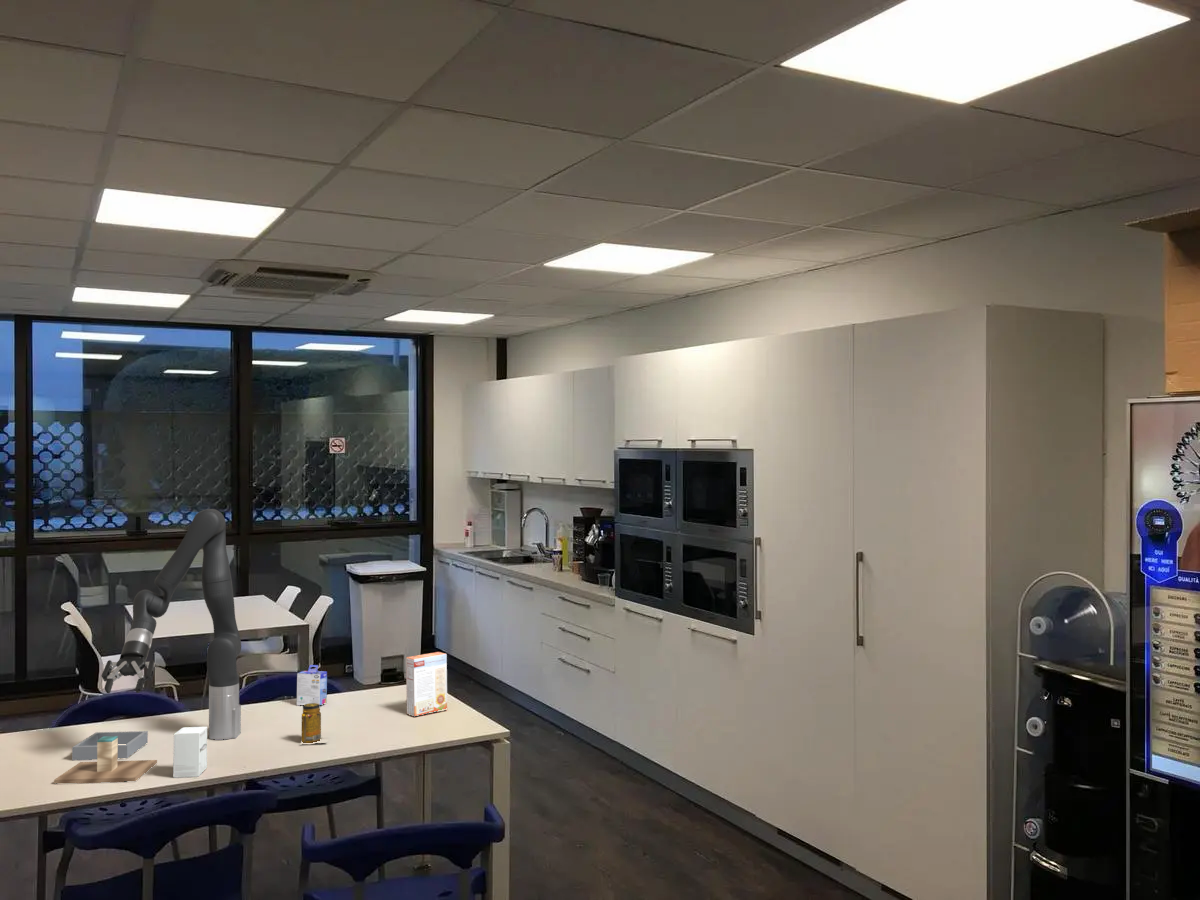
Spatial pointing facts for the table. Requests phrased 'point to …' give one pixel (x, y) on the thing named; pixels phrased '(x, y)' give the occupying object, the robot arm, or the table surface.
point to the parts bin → (131, 739)
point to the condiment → (311, 723)
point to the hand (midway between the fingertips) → (122, 691)
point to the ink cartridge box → (312, 686)
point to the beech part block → (107, 753)
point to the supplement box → (190, 752)
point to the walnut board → (123, 772)
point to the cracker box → (426, 683)
